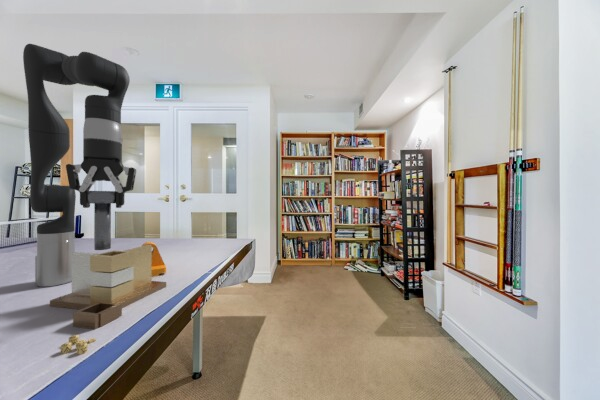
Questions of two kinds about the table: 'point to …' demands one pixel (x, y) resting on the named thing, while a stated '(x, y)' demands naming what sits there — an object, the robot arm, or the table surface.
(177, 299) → the table surface
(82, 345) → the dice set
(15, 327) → the table surface
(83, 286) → the hinge leaf
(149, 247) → the hinge base
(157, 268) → the bracket
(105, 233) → the hinge pin
